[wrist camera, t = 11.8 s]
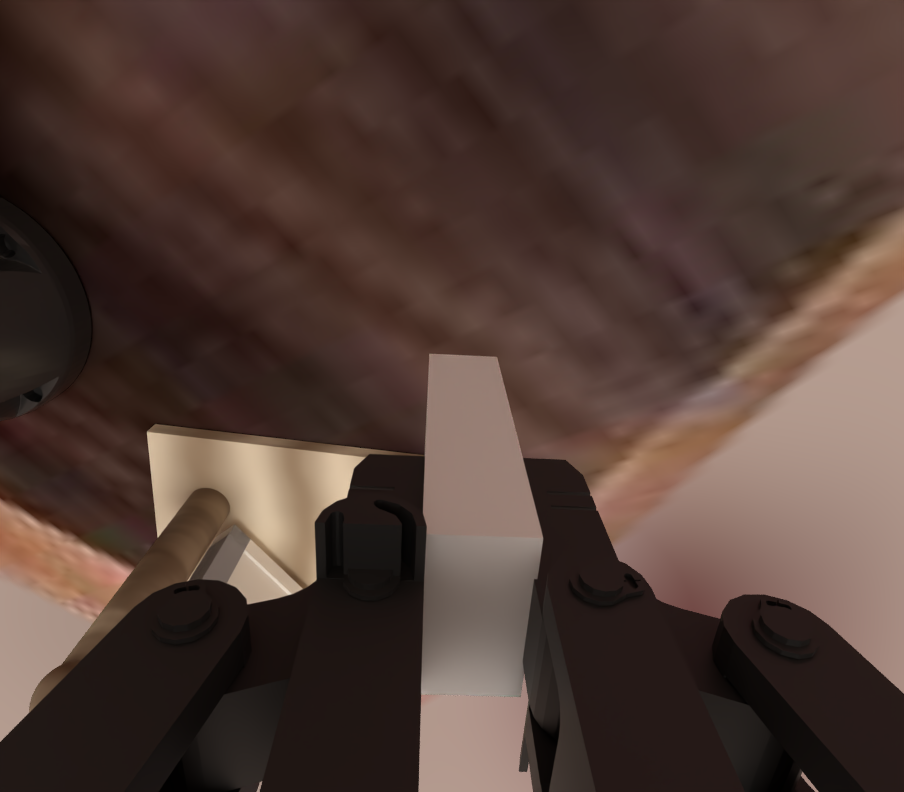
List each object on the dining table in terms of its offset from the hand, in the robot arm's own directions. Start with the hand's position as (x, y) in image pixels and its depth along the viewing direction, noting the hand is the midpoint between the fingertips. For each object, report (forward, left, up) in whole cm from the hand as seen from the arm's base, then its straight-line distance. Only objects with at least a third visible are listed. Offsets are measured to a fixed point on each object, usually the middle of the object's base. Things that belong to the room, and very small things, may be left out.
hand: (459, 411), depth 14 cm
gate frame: (-10, -25, -25) cm, 37 cm away
